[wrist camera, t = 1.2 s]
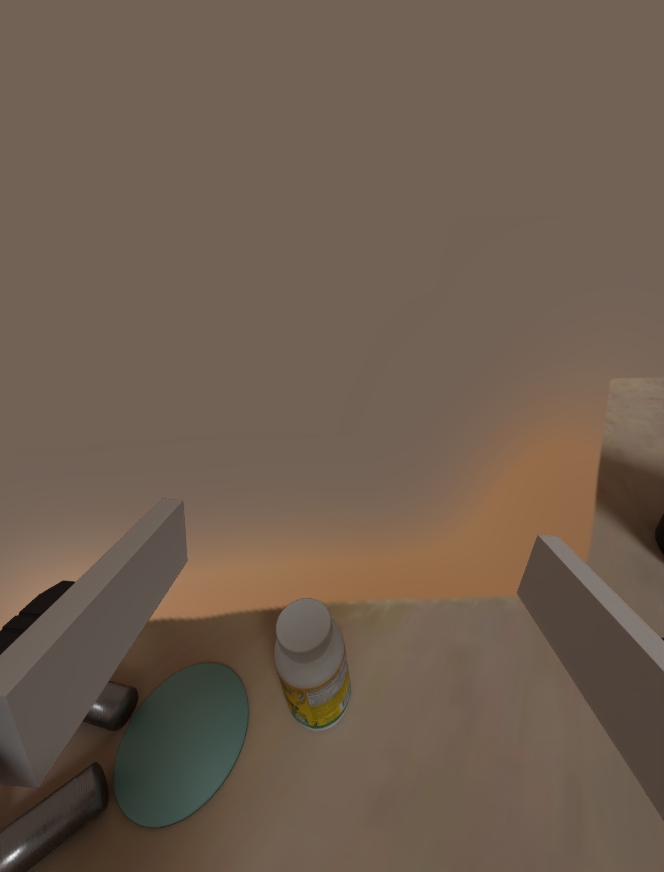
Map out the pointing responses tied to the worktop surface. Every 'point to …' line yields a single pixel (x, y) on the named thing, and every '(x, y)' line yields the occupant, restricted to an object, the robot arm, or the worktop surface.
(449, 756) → the worktop surface
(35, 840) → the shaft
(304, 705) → the supplement bottle
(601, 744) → the worktop surface
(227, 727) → the disc
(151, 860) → the worktop surface
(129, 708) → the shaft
